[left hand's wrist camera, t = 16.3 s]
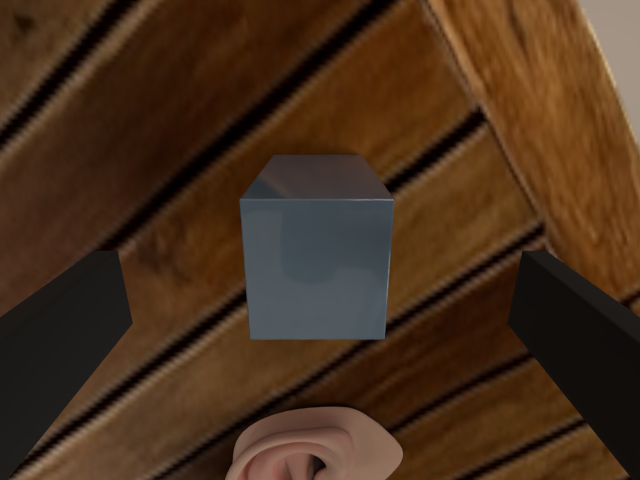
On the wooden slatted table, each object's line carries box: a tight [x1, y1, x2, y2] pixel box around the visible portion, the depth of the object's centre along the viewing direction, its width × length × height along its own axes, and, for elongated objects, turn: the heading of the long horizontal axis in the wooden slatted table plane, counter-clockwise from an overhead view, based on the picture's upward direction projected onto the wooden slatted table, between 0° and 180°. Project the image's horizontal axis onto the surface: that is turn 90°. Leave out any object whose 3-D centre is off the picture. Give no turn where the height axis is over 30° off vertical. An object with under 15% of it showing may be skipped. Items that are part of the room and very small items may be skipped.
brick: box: [239, 155, 394, 340], centre depth 19 cm, size 6×5×11 cm
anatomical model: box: [225, 407, 403, 480], centre depth 30 cm, size 13×4×12 cm
